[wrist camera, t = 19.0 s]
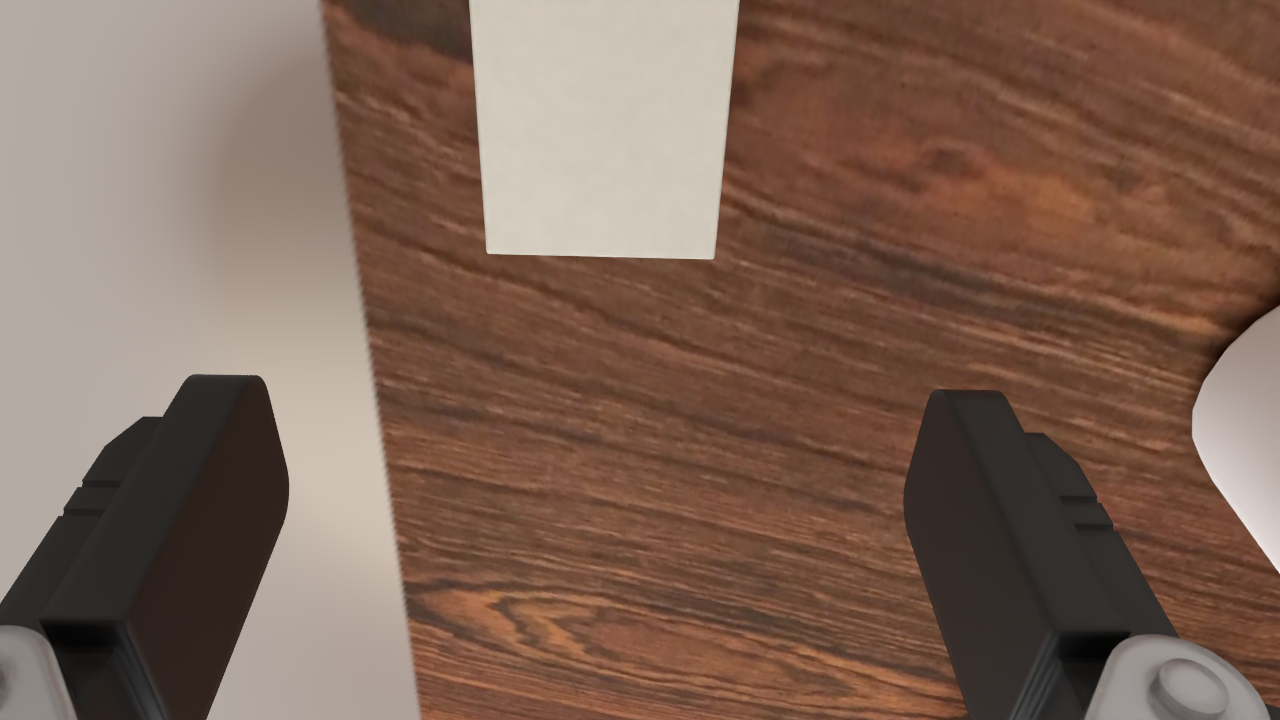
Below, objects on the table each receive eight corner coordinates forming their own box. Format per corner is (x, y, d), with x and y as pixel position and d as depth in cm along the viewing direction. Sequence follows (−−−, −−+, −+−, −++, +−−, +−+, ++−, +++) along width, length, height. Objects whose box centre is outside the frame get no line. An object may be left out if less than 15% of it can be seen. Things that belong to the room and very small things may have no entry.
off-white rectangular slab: (466, -183, 18) (456, -173, 17) (747, -173, 18) (755, -161, 17) (492, 226, 24) (486, 255, 23) (710, 232, 24) (714, 260, 23)
